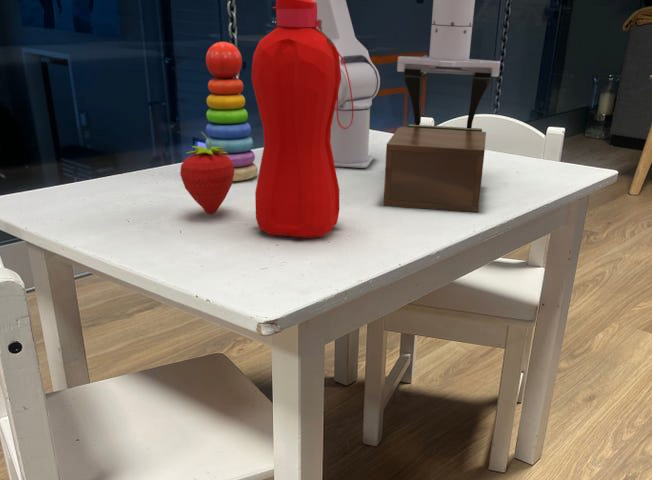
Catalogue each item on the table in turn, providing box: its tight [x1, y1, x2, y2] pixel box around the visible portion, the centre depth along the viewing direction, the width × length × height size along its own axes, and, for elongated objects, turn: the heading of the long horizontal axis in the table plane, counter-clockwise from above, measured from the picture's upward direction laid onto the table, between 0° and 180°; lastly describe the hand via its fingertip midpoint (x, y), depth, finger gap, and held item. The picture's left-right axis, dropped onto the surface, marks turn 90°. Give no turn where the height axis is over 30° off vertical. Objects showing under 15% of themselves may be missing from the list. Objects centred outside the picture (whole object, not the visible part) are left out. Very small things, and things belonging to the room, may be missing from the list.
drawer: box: [407, 124, 483, 132], centre depth 110 cm, size 17×11×6 cm
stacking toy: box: [205, 41, 258, 182], centre depth 105 cm, size 8×8×19 cm
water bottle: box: [251, 0, 353, 239], centre depth 81 cm, size 9×11×25 cm
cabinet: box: [383, 126, 487, 213], centre depth 100 cm, size 14×13×8 cm
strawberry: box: [179, 131, 235, 216], centre depth 89 cm, size 6×8×10 cm
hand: (443, 125), depth 108 cm, fingers open, 7 cm apart
